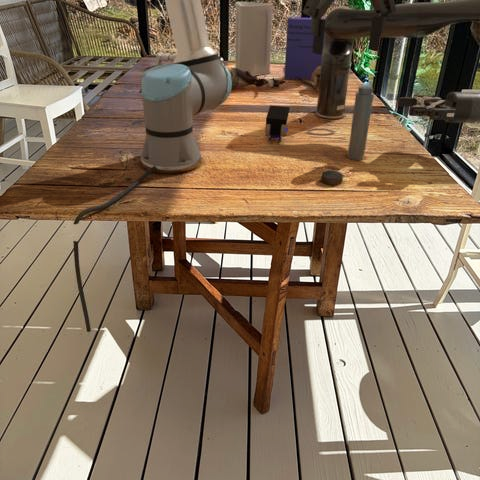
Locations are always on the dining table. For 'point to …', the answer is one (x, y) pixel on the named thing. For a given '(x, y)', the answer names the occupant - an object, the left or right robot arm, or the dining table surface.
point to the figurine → (251, 80)
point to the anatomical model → (316, 78)
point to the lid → (331, 177)
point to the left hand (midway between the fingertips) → (345, 52)
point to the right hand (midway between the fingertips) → (403, 106)
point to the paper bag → (253, 37)
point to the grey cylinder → (360, 122)
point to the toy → (164, 58)
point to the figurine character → (276, 122)
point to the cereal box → (300, 49)
